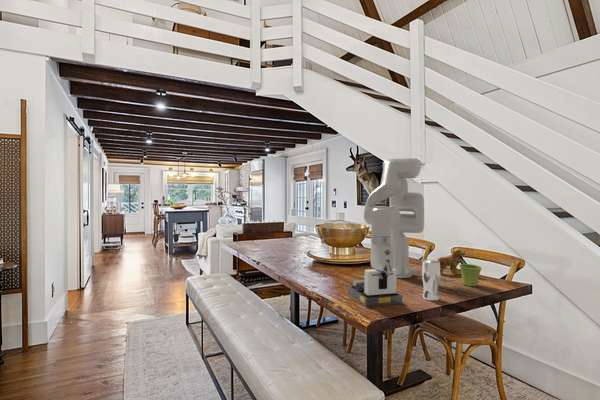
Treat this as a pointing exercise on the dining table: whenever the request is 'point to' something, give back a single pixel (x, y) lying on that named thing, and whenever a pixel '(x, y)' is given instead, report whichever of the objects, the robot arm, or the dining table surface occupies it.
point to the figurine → (451, 261)
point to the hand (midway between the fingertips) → (380, 287)
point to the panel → (373, 282)
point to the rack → (372, 296)
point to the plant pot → (470, 274)
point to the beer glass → (430, 279)
